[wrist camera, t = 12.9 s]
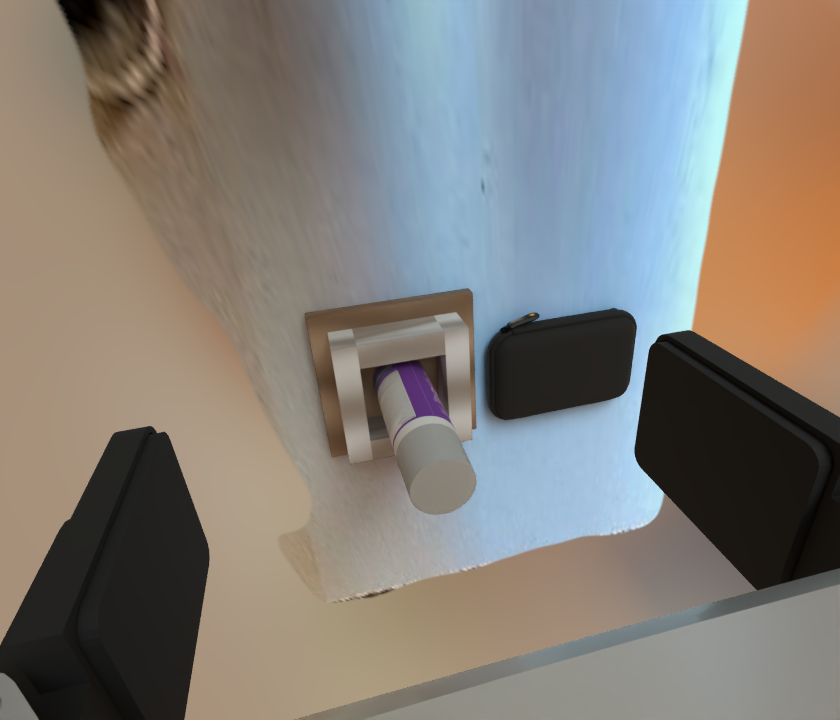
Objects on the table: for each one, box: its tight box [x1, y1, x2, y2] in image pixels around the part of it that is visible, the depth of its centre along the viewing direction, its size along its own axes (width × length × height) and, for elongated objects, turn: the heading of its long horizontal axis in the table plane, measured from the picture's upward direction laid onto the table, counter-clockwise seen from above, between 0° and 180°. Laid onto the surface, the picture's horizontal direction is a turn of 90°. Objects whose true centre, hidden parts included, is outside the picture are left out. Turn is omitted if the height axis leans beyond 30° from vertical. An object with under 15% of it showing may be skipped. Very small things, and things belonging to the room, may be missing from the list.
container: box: [373, 359, 476, 514], centre depth 40 cm, size 5×5×15 cm
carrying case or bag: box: [488, 308, 637, 420], centre depth 50 cm, size 11×3×15 cm
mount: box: [305, 289, 476, 464], centre depth 46 cm, size 14×14×5 cm
